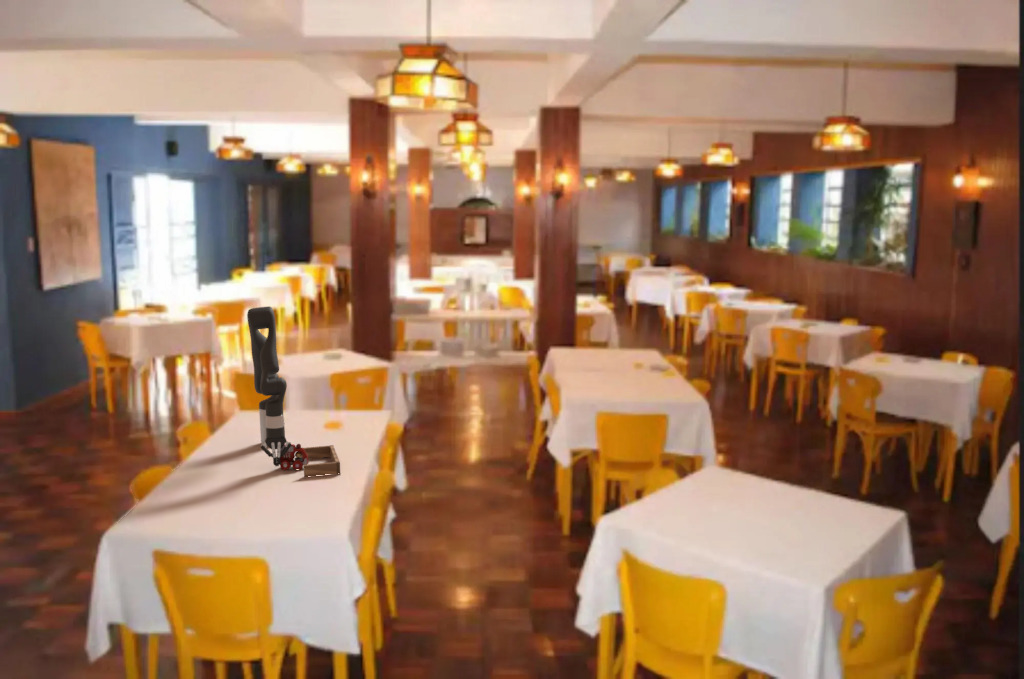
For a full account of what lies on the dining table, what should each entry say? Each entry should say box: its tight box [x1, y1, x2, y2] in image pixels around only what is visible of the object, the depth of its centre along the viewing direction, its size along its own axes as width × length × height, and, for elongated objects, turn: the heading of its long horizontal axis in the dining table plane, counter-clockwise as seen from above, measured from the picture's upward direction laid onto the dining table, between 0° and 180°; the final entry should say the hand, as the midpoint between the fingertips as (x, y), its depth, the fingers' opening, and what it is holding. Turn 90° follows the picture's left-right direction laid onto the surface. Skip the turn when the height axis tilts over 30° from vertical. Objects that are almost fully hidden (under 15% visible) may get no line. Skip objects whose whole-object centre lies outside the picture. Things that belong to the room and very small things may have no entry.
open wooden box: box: [302, 444, 341, 478], centre depth 385 cm, size 27×14×5 cm, turn 17°
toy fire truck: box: [279, 443, 309, 471], centre depth 383 cm, size 7×12×10 cm, turn 91°
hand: (276, 465), depth 380 cm, fingers closed
